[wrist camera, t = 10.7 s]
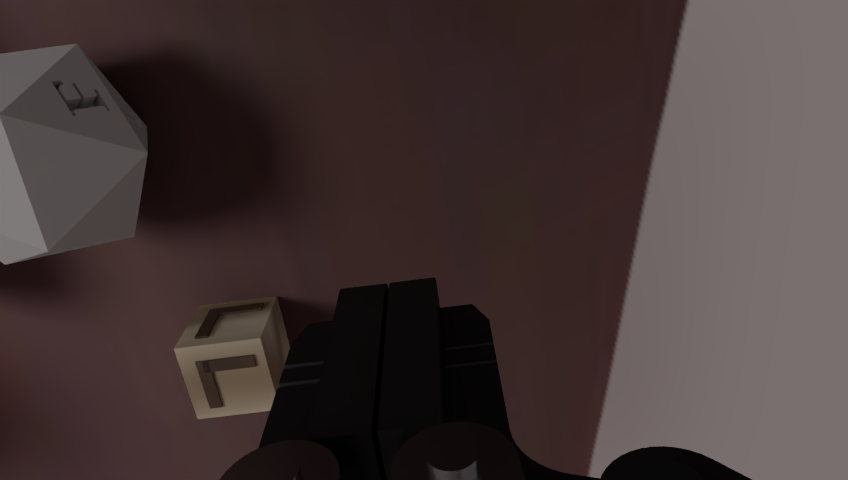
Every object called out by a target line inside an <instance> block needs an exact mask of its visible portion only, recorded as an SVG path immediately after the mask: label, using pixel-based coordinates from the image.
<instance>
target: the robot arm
mask: <svg viewBox="0 0 848 480" xmlns="http://www.w3.org/2000/svg"><path fill="white" fill-rule="evenodd" d="M220 480H751V479H750V478H748V477H746V476H744V475H742V474H740V473H738V472H736V471H734V470H732V469H730V468H728V467H726V466H725V465H723V464H721V463H719V462H717V461H715V460H713V459H711V458H709V457H706V456H704V455H702V454H699V453H696V452H693V451H690V450H685V449H681V448H674V447H648V448H641V449H637V450H634V451H630V452H628V453H626V454H624V455H622V456H620V457H618V458H617V459H616V460H614V461H613V462H612V463H611V464H610V465H609V466H608V467H607V468H606V469H605V471H604V473H603V474H602V476H601V479H600V478H593V477H586V476H579V475H572V474H567V473H562V472H559V471H555V470H552V469H549V468H547V467H545V466H543V465H540V464H538V463H537V462H535V461H534V460H532V459H530V458H529V457H528V456H527V455H525V454H524V453H523V452H522V451H521V450H520V449H519V447H518V446H517V445H516V443H515V442H514V440H513V438H512V435H511V432H510V429H509V423H508V418H507V413H506V407H505V402H504V397H503V391H502V386H501V381H500V376H499V370H498V365H497V361H496V354H495V349H494V345H493V338H492V333H491V328H490V323H489V320H488V319H487V318H486V317H485V316H484V315H483V314H482V313H481V312H480V311H479V310H478V309H477V308H476V307H475V306H474V305H473V304H469V305H461V306H452V307H444V308H440V304H439V297H438V290H437V283H436V278H435V277H434V278H426V279H418V280H410V281H401V282H393V283H390V284H389V288H388V285H387V284H378V285H370V286H361V287H353V288H345V289H341V290H340V292H339V296H338V301H337V305H336V310H335V314H334V319H333V321H328V322H320V323H311V324H309V325H308V326H307V328H306V329H305V330H304V331H303V332H302V333H301V334H300V335H299V336H298V337H297V338H296V339H295V340H294V341H293V342H292V343H291V346H290V349H289V352H288V356H287V359H286V362H285V369H283V372H282V375H281V378H280V381H279V388H277V391H276V394H275V397H274V400H273V403H272V407H271V410H270V413H269V416H268V419H267V423H266V426H265V429H264V432H263V435H262V439H261V442H260V445H259V448H258V449H256V450H254V451H252V452H250V453H249V454H247V455H245V456H244V457H242V458H241V459H239V460H238V461H237V462H235V463H234V464H233V465H232V466H231V467H230V468H229V469H228V470H227V471H226V472H225V473H224V475H223V476H222V477H221V478H220Z"/></svg>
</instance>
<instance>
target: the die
mask: <svg viewBox="0 0 848 480" xmlns="http://www.w3.org/2000/svg"><path fill="white" fill-rule="evenodd" d="M147 155H148V142H147V126H146V125H145V124H144V123H143V121H142V120H141V119H140V118H139V117H138V115H137V114H136V113H135V112H134V111H133V110H132V108H131V107H130V106H129V105H128V104H127V103H126V102H125V101H124V99H123V98H122V96H121V95H120V94H119V93H118V92H117V90H116V89H115V88H114V87H113V86H112V85H111V83H110V82H109V81H108V80H107V79H106V77H105V76H104V75H103V74H102V73H101V71H100V70H99V69H98V68H97V67H96V65H95V64H94V63H93V62H92V61H91V60H90V58H89V57H88V56H87V55H86V54H85V52H84V51H83V50H82V49H81V48H80V46H79V45H78V44H70V45H62V46H55V47H48V48H40V49H33V50H25V51H18V52H10V53H3V54H0V262H2V263H3V264H5V265H7V264H11V263H16V262H21V261H25V260H30V259H34V258H39V257H44V256H48V255H53V254H57V253H62V252H67V251H71V250H76V249H80V248H85V247H89V246H94V245H99V244H103V243H108V242H112V241H117V240H122V239H126V238H131V237H135V230H136V224H137V218H138V212H139V205H140V199H141V193H142V186H143V180H144V174H145V167H146V161H147Z"/></svg>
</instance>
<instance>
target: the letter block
mask: <svg viewBox="0 0 848 480" xmlns="http://www.w3.org/2000/svg"><path fill="white" fill-rule="evenodd" d="M289 349H290V345H289V341H288V337H287V334H286V330H285V326H284V322H283V318H282V314H281V310H280V306H279V302H278V298H277V296H274V297H266V298H258V299H250V300H242V301H234V302H227V303H219V304H211V305H203V306H199V308H198V309H197V311H196V313H195V314H194V316H193V318H192V319H191V321H190V323H189V324H188V326H187V328H186V329H185V331H184V333H183V334H182V336H181V338H180V339H179V341H178V343H177V344H176V346H175V348H174V351H175V354H176V357H177V360H178V362H179V365H180V368H181V371H182V374H183V377H184V380H185V383H186V386H187V389H188V392H189V395H190V398H191V401H192V404H193V407H194V409H195V412H196V415H197V418H198V419H203V418H212V417H220V416H229V415H237V414H246V413H254V412H263V411H270V410H271V407H272V403H273V400H274V397H275V394H276V391H277V388H279V381H280V378H281V375H282V372H283V369H285V362H286V359H287V356H288V352H289Z"/></svg>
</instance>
